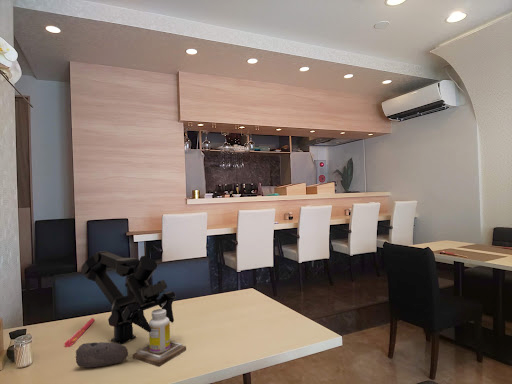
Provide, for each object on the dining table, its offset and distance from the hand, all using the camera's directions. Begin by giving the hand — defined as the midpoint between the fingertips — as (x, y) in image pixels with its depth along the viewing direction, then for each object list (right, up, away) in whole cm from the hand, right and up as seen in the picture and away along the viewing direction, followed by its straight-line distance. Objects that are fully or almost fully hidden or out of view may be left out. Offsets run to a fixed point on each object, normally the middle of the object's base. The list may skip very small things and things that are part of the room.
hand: (162, 326), depth 106 cm
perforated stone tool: (-17, -10, -5) cm, 20 cm away
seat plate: (-1, -9, +1) cm, 9 cm away
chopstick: (-38, -11, +20) cm, 44 cm away
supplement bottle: (-1, -8, +1) cm, 8 cm away
